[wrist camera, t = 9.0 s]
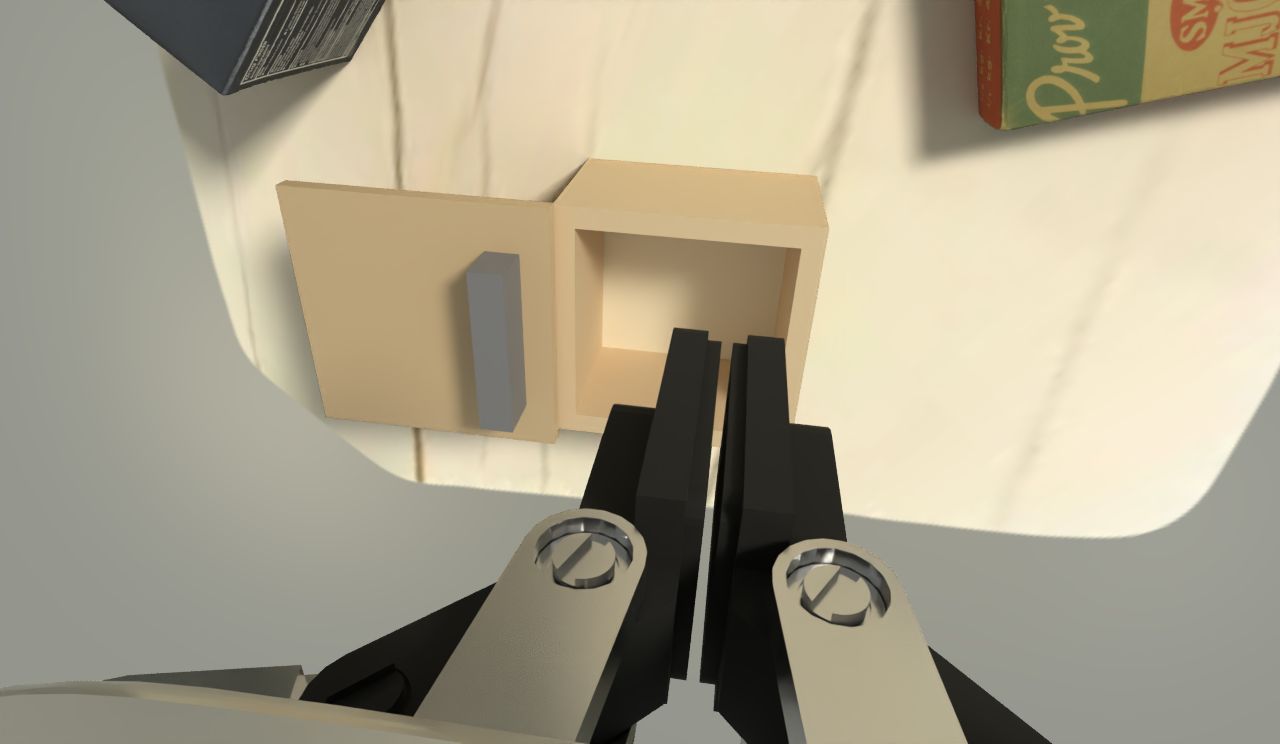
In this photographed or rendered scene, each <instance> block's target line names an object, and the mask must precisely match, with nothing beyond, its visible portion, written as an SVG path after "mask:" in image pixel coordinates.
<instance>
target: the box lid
mask: <svg viewBox="0 0 1280 744" xmlns="http://www.w3.org/2000/svg"><path fill="white" fill-rule="evenodd" d="M275 186H276V190H277V195H278V200H279V204H280V209H281V213H282V218H283V223H284V227H285V232H286V236H287V241H288V245H289V250H290V255H291V259H292V264H293V268H294V273H295V278H296V282H297V287H298V291H299V296H300V300H301V305H302V310H303V314H304V319H305V323H306V328H307V333H308V337H309V342H310V346H311V351H312V355H313V360H314V365H315V369H316V374H317V378H318V383H319V388H320V392H321V397H322V401H323V406H324V410H325V415H326V417H331V418H340V419H348V420H356V421H365V422H373V423H382V424H390V425H399V426H407V427H416V428H424V429H432V430H441V431H449V432H458V433H466V434H475V435H483V436H492V437H500V438H508V439H517V440H525V441H534V442H542V443H551V444H555V443H556V440H557V438H558V435H559V429H558V383H557V336H556V289H555V243H554V203H549V202H537V201H525V200H513V199H502V198H490V197H478V196H466V195H454V194H442V193H431V192H419V191H407V190H395V189H383V188H371V187H360V186H348V185H336V184H324V183H312V182H300V181H289V180H285V181H283V182H281V183H279V184H277V185H275Z"/></svg>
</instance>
